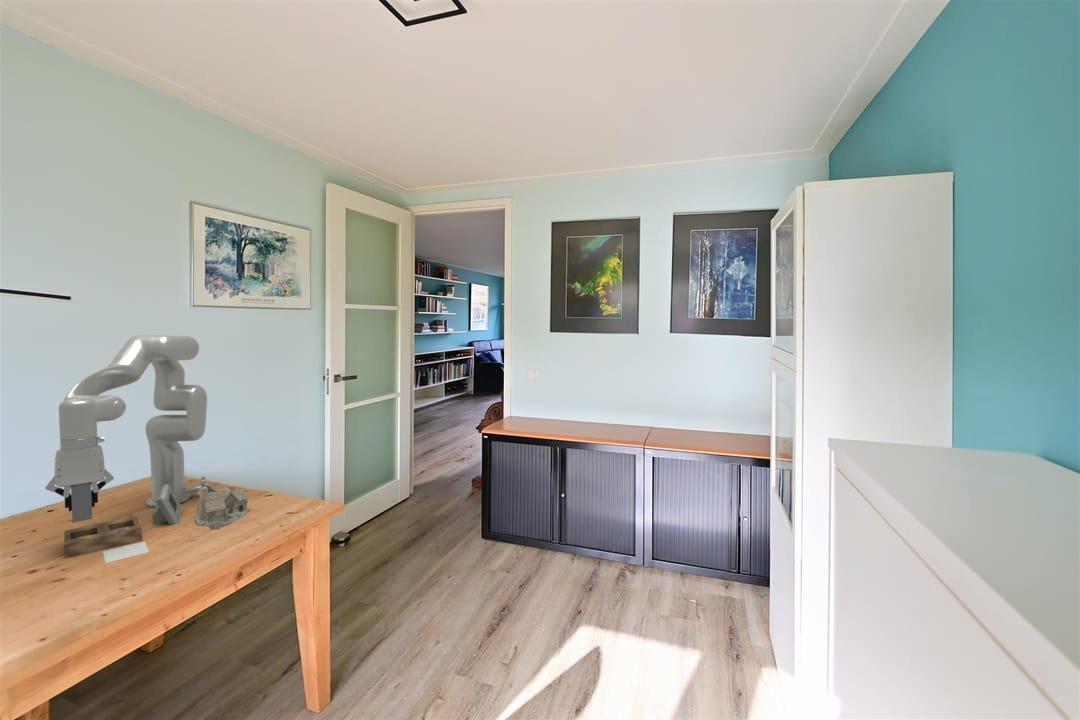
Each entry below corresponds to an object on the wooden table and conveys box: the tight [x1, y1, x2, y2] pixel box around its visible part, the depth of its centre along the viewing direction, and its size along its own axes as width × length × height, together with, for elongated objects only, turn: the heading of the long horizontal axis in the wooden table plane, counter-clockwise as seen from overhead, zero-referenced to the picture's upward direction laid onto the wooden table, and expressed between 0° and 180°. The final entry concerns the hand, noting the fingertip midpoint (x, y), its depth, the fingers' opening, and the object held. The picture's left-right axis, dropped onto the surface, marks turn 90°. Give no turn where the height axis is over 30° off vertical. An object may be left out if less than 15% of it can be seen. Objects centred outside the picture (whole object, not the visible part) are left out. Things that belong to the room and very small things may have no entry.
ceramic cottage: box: [193, 475, 249, 530], centre depth 159 cm, size 16×16×15 cm
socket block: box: [63, 515, 143, 559], centre depth 139 cm, size 16×12×5 cm
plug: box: [70, 483, 93, 524], centre depth 135 cm, size 4×4×10 cm
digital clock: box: [151, 484, 183, 526], centre depth 157 cm, size 16×9×11 cm, turn 23°
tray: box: [102, 541, 149, 564], centre depth 133 cm, size 9×9×1 cm
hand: (81, 507), depth 135 cm, fingers closed on plug, 4 cm apart
